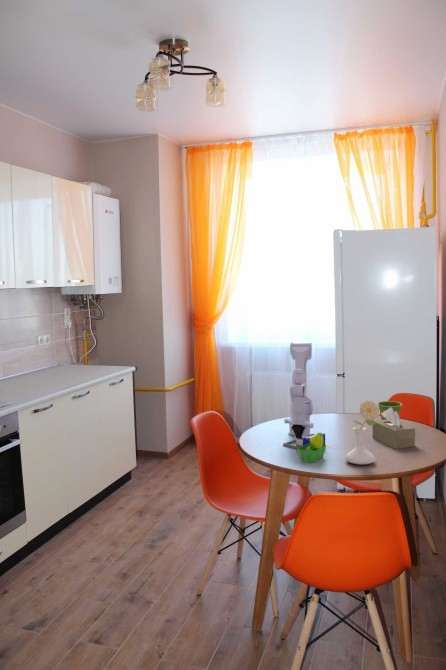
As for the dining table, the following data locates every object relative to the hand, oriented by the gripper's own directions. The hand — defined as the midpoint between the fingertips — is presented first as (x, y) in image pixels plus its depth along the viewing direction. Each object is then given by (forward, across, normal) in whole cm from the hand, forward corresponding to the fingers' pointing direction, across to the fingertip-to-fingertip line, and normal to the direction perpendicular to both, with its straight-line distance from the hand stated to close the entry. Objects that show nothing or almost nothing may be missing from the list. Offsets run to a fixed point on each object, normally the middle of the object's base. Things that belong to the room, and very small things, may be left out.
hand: (298, 441), depth 242 cm
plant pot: (+2, +14, +55) cm, 57 cm away
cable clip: (+2, +8, 0) cm, 8 cm away
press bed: (+2, +3, 0) cm, 4 cm away
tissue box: (+2, +28, +32) cm, 42 cm away
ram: (+2, +3, 0) cm, 4 cm away
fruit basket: (+2, +16, -11) cm, 19 cm away
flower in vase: (+2, +33, -2) cm, 33 cm away
